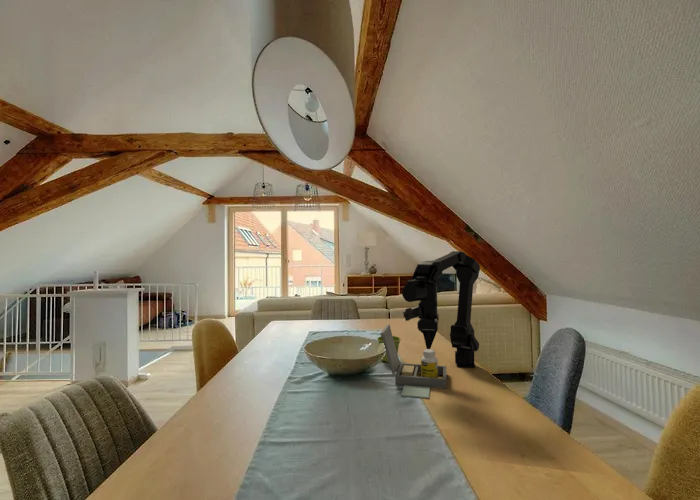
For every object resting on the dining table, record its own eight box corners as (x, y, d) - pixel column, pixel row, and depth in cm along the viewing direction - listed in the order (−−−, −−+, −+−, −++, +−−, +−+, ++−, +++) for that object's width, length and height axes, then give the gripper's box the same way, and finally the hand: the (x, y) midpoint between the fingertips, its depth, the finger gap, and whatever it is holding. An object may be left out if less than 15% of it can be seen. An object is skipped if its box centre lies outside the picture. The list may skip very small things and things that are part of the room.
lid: (389, 324, 132) (386, 325, 133) (383, 332, 120) (380, 333, 120) (400, 362, 131) (396, 362, 132) (395, 373, 119) (391, 374, 119)
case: (446, 374, 128) (446, 364, 128) (446, 388, 114) (446, 378, 114) (400, 370, 132) (400, 361, 132) (395, 384, 118) (395, 374, 118)
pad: (429, 388, 115) (429, 387, 115) (428, 398, 107) (428, 397, 107) (404, 386, 117) (404, 385, 117) (401, 396, 109) (401, 394, 109)
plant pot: (402, 363, 140) (402, 341, 140) (378, 363, 140) (377, 341, 140) (399, 356, 150) (399, 335, 150) (376, 356, 150) (376, 335, 150)
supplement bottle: (419, 381, 121) (418, 351, 121) (423, 376, 126) (423, 347, 126) (435, 383, 119) (435, 353, 119) (439, 378, 124) (439, 349, 124)
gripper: (407, 295, 134) (407, 337, 134) (401, 302, 116) (401, 351, 116) (438, 295, 131) (439, 339, 131) (437, 303, 113) (437, 353, 113)
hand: (429, 345), depth 123 cm, fingers open, 9 cm apart
